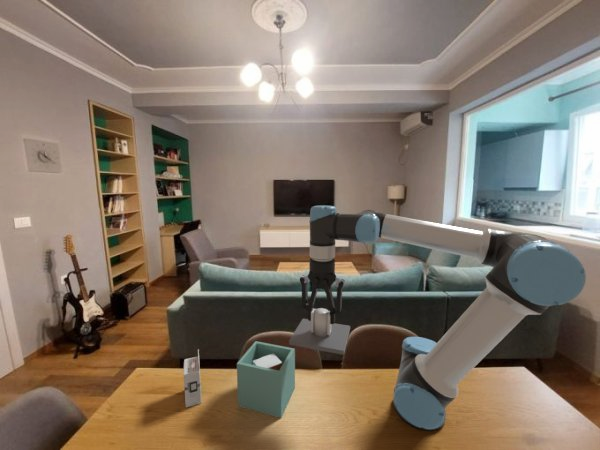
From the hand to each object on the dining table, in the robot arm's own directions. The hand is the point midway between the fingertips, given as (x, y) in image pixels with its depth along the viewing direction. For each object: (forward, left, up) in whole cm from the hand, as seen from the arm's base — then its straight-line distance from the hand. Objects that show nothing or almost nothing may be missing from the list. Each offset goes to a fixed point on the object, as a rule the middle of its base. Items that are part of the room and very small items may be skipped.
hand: (321, 331), depth 82 cm
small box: (+18, +1, -26) cm, 32 cm away
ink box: (+42, +9, -26) cm, 50 cm away
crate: (+18, +1, -26) cm, 32 cm away
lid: (0, 0, -3) cm, 3 cm away
